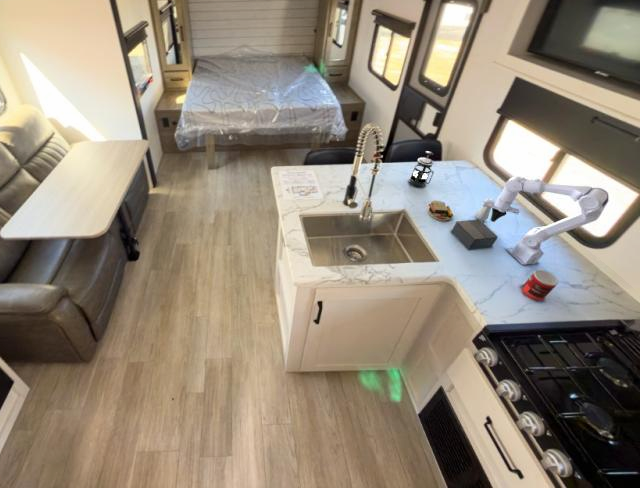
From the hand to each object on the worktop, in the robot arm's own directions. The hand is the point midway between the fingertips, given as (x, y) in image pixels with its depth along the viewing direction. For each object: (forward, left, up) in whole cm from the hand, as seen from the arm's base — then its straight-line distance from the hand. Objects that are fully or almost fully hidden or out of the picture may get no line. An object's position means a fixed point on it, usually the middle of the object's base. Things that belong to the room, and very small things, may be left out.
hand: (492, 220), depth 160 cm
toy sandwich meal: (+19, +12, -11) cm, 25 cm away
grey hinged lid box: (-2, +8, -10) cm, 13 cm away
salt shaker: (+12, -8, -11) cm, 18 cm away
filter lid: (-2, +12, -3) cm, 12 cm away
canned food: (-35, +5, -11) cm, 37 cm away
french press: (+48, +7, -11) cm, 50 cm away
